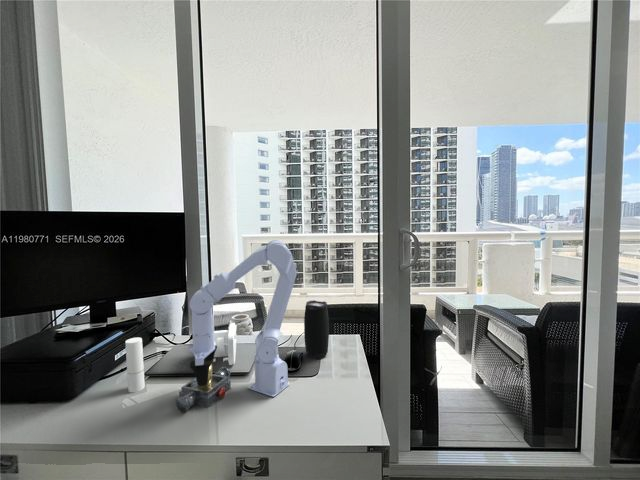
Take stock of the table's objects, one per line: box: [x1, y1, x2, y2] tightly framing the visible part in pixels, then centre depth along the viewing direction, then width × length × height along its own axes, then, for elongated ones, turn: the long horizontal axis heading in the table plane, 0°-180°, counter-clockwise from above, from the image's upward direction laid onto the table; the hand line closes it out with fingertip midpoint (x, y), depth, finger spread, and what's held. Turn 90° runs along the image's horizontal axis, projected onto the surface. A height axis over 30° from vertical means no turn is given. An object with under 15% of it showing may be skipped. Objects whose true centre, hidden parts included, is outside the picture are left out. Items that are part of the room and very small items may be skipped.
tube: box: [125, 337, 146, 393], centre depth 96 cm, size 4×4×15 cm
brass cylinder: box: [197, 364, 213, 390], centre depth 92 cm, size 4×4×6 cm
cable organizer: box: [213, 322, 238, 366], centre depth 114 cm, size 15×11×12 cm
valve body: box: [175, 366, 232, 414], centre depth 92 cm, size 18×11×4 cm, turn 160°
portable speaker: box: [303, 300, 330, 360], centre depth 117 cm, size 9×9×20 cm
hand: (205, 378), depth 92 cm, fingers open, 7 cm apart
